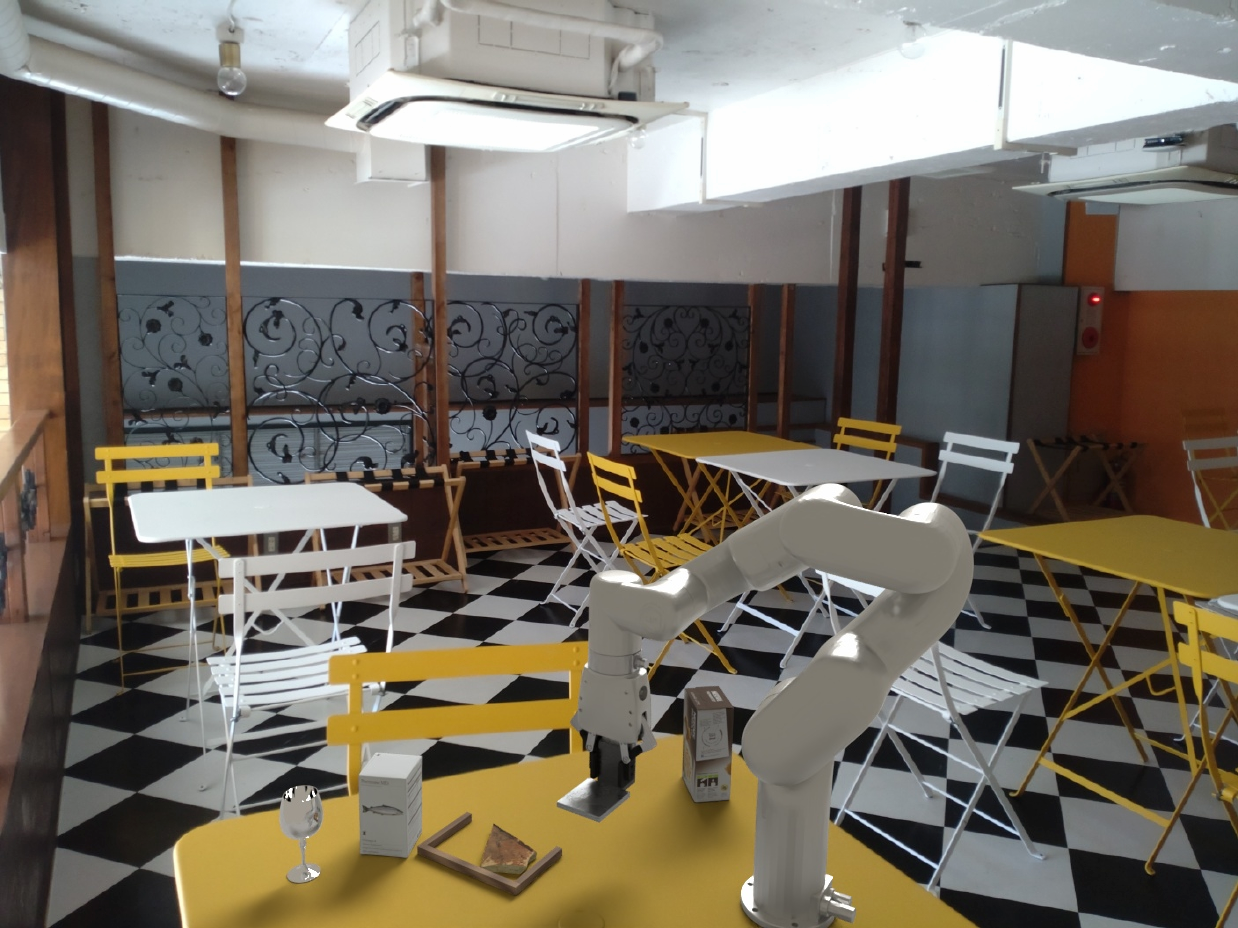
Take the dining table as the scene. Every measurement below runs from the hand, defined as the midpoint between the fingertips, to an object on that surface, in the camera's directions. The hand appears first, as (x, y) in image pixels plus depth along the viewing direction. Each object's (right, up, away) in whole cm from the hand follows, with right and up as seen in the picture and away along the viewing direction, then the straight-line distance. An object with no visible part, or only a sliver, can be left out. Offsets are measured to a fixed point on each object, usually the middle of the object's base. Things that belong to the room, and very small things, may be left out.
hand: (611, 778), depth 133 cm
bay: (-18, -12, +2) cm, 21 cm away
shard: (-16, -12, +1) cm, 21 cm away
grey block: (-1, -2, -2) cm, 3 cm away
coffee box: (+16, -9, +22) cm, 28 cm away
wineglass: (-43, -12, -3) cm, 45 cm away
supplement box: (-33, -11, +4) cm, 35 cm away
